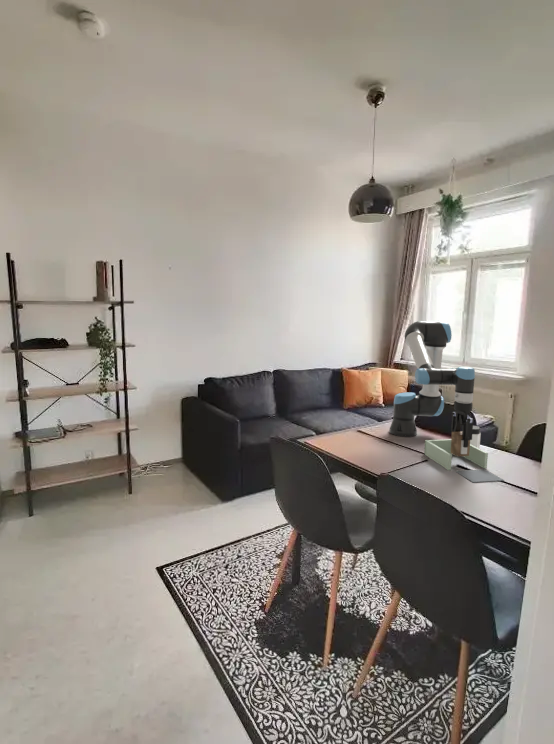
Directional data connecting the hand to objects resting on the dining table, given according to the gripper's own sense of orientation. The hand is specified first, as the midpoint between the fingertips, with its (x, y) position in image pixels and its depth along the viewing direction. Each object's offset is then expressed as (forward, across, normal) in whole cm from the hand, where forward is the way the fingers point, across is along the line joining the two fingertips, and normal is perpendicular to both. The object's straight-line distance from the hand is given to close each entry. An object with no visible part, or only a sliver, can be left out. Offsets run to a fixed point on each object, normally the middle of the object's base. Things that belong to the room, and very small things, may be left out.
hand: (459, 451), depth 185 cm
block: (+1, 0, 0) cm, 1 cm away
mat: (+6, +14, 0) cm, 16 cm away
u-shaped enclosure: (+6, -4, 0) cm, 7 cm away
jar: (+6, -18, +17) cm, 25 cm away
